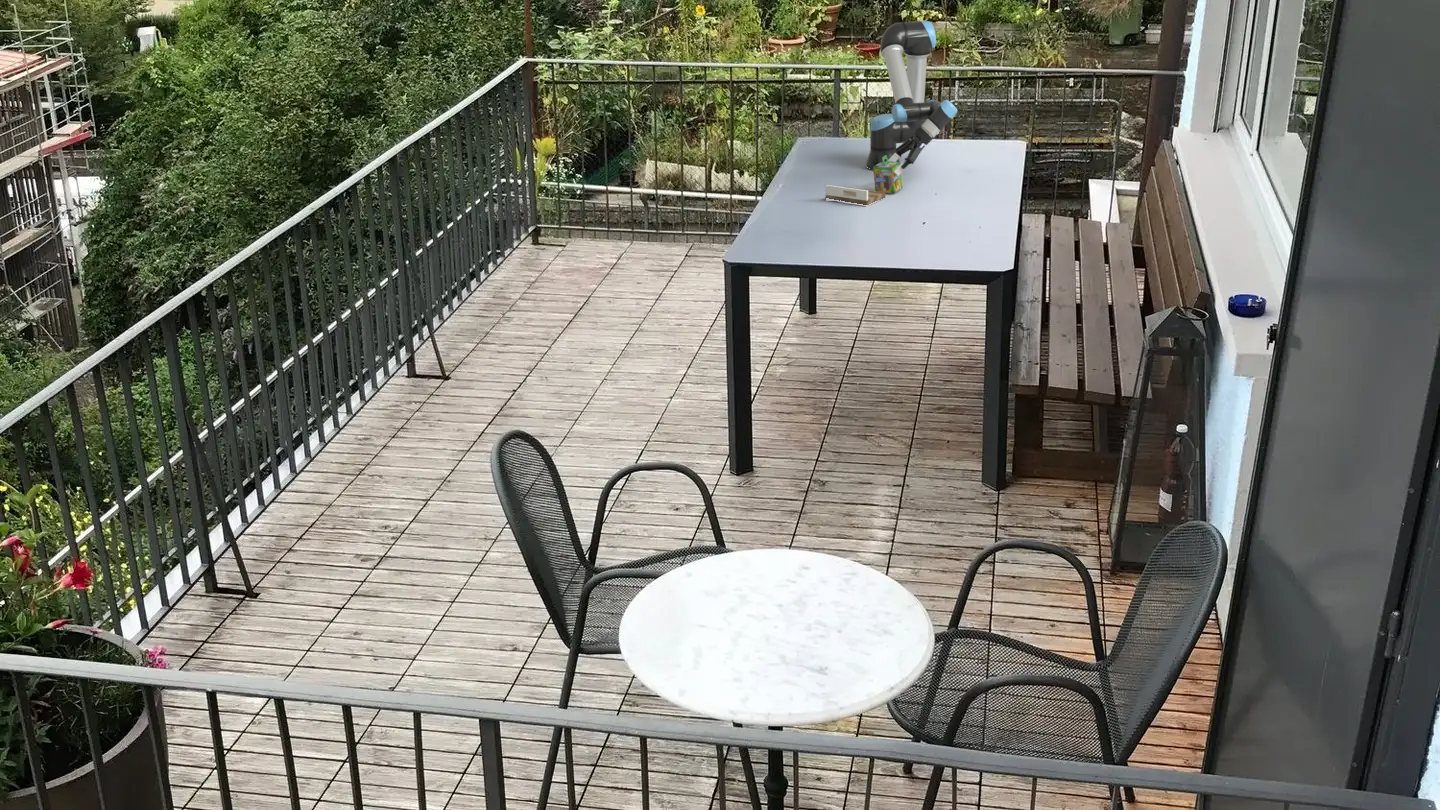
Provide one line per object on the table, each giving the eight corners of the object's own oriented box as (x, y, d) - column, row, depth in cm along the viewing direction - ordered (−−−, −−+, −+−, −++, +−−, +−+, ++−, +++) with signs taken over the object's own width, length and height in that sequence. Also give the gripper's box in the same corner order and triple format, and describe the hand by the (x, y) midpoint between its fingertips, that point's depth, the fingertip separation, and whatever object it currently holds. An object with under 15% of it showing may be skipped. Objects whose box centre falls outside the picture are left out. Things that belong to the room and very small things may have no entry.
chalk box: (894, 194, 569) (891, 159, 563) (874, 193, 574) (871, 159, 568) (903, 187, 576) (900, 153, 570) (883, 186, 581) (881, 153, 575)
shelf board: (844, 192, 577) (844, 177, 574) (885, 198, 566) (885, 183, 563) (825, 200, 566) (825, 185, 563) (866, 206, 554) (866, 191, 552)
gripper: (941, 144, 556) (905, 182, 560) (923, 132, 579) (889, 168, 583) (929, 132, 554) (893, 170, 557) (911, 120, 577) (877, 157, 581)
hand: (891, 170), depth 570 cm, fingers open, 13 cm apart
